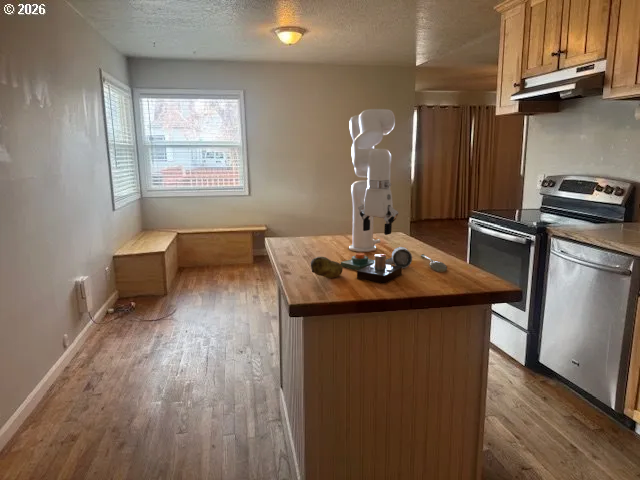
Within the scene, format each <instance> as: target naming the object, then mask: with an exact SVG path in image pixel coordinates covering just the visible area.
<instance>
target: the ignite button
mask: <svg viewBox="0 0 640 480" xmlns="http://www.w3.org/2000/svg"><path fill="white" fill-rule="evenodd" d="M365 254H366V253H365V252H357V253H355V256H356V257H355V258H358V259H363V258H365V256H366V255H365Z"/></svg>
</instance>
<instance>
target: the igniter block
mask: <svg viewBox="0 0 640 480" xmlns="http://www.w3.org/2000/svg"><path fill="white" fill-rule="evenodd" d="M355 257H356V255H352V256H351V259H347V260H342V261H340V264H341V265H342V267H343V268H347V269H350V270H354V271H358V270H360V269H363V268H365V267H367V266H369V265H372V264H374V263H375V259H371V258H369V256H367V255H365V258H363V259H358V258H355Z"/></svg>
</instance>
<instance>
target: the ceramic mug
mask: <svg viewBox="0 0 640 480" xmlns="http://www.w3.org/2000/svg"><path fill="white" fill-rule="evenodd" d="M412 262H413V255H412V252H410V250H409V249H407V248H406V247H404V246H398V247H395V248H394V249H393V251H392V253H391V257H389V258H386V265H392V266H398V267H402V269H407V268H409V266H411V264H412Z"/></svg>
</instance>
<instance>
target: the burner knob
mask: <svg viewBox="0 0 640 480" xmlns="http://www.w3.org/2000/svg"><path fill="white" fill-rule="evenodd" d="M374 260H375V264H374V269H376V270H385V269H386V260H387V255H386V254H383V253H377V254H374Z"/></svg>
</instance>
